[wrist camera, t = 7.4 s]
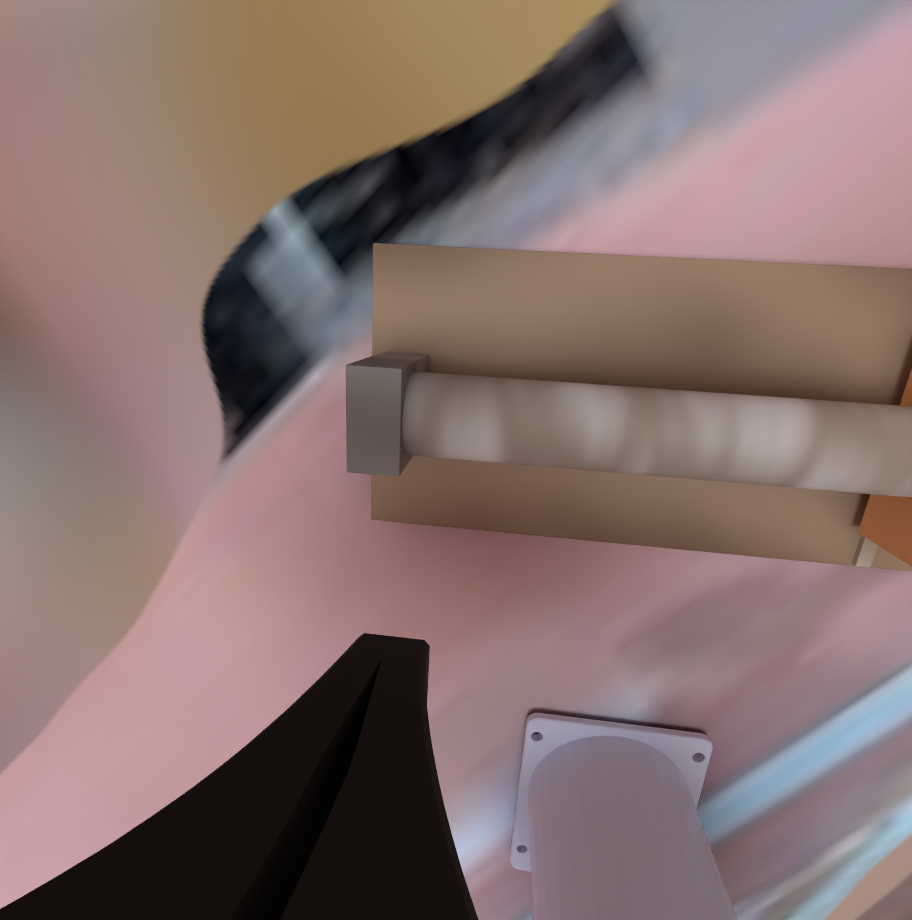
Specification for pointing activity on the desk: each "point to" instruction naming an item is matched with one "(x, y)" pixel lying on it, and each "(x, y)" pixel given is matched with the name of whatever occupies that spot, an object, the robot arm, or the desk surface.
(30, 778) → the desk surface
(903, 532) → the orange rod slider
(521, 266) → the pipe stand
